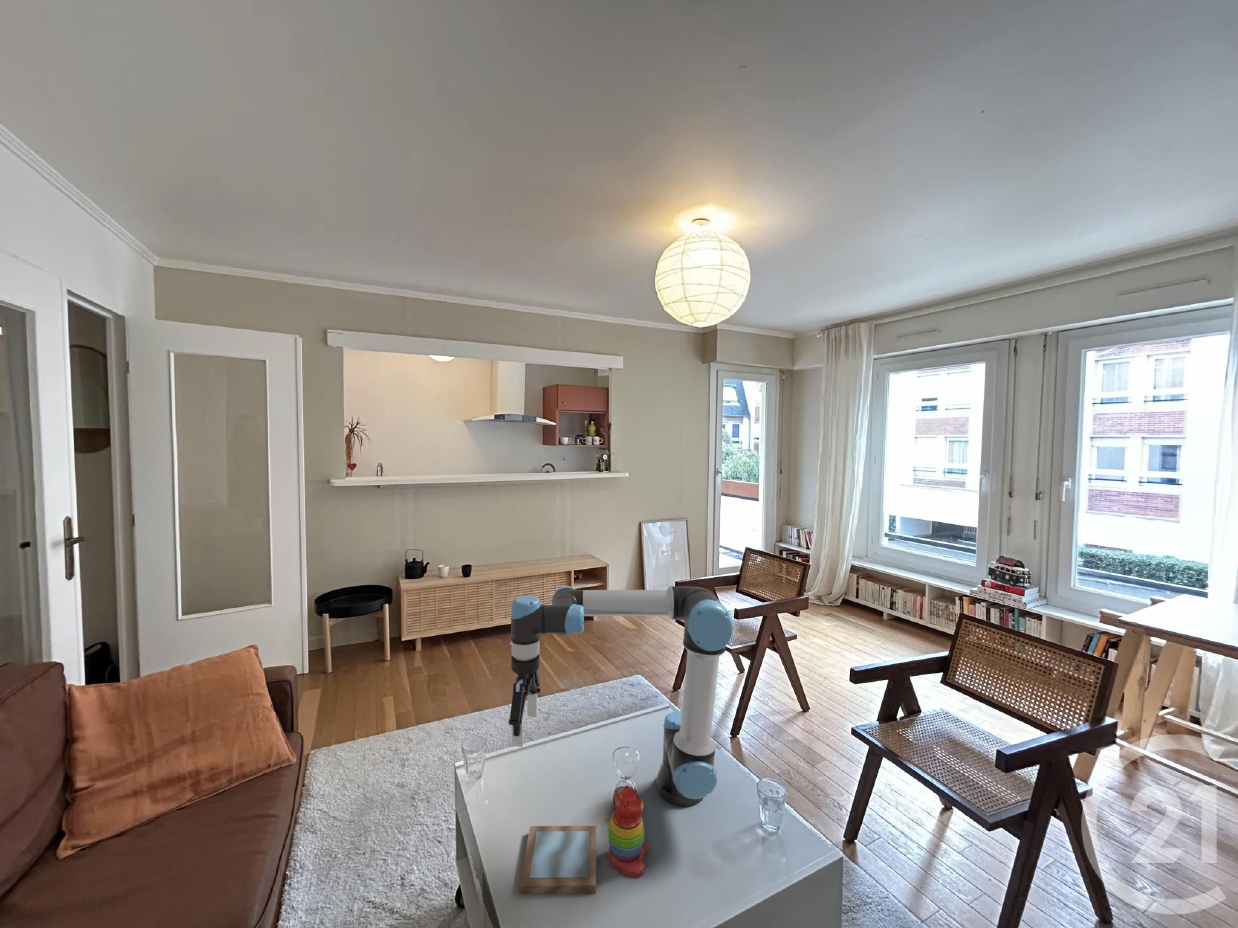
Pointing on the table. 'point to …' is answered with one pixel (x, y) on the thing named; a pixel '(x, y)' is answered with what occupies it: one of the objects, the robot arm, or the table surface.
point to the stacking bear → (627, 834)
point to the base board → (560, 860)
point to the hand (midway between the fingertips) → (525, 730)
